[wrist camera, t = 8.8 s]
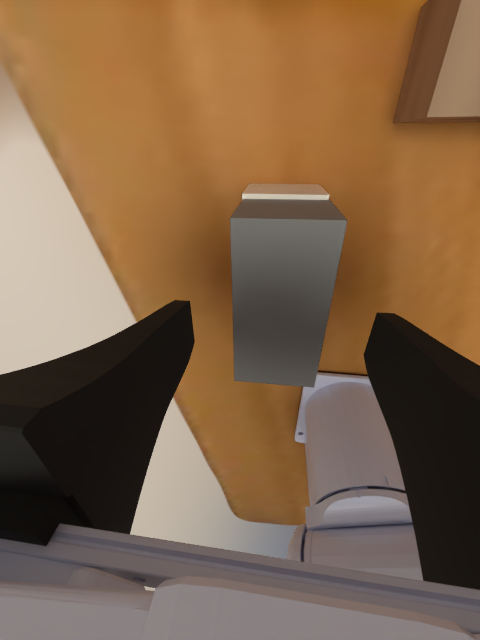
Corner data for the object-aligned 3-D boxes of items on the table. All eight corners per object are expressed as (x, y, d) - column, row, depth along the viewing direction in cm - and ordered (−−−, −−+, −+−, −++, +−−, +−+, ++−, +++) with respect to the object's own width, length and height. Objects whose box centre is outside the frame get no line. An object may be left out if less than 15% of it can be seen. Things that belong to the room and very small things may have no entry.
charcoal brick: (307, 339, 17) (314, 387, 14) (243, 334, 17) (234, 380, 14) (329, 199, 13) (347, 220, 9) (243, 198, 13) (230, 218, 10)
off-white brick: (302, 304, 20) (306, 336, 17) (248, 301, 21) (241, 332, 17) (318, 184, 16) (329, 195, 12) (249, 183, 16) (242, 193, 13)
